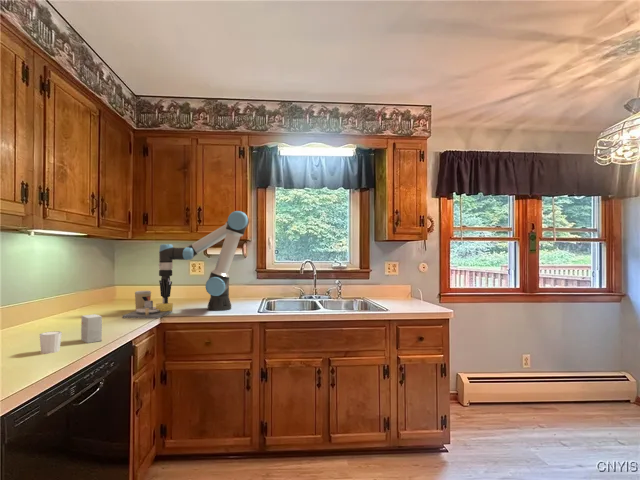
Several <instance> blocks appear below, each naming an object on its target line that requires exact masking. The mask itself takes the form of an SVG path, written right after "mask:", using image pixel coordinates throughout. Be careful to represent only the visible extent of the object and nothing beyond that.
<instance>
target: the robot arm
mask: <svg viewBox="0 0 640 480" xmlns="http://www.w3.org/2000/svg"><path fill="white" fill-rule="evenodd" d="M249 223H250V219H249V217H248V215H247V214H246V212H244V211H241V210H235V211H232V212H231V213H230V214H229V215H228V217H227V221H226V222H225V224H224V225H221V226H219V227H218V228H216V229H215V230H213V231H212V232H210V233H209V234H207V235H205V236H203V237H201V238H200V239H198V240H197V241H195V242H192V244H190V245H188V246H186V247H174V245H173V244H171V243H168V244H167V243H166V244H165V243H161V244H159V251H158V255H159V257H158V259H159V260H158V268H159V270H158V276H159V277H161V278H160V279H161V280H158V281H159V282H158V283H159V289H160V290H159V292H160V297H162V303H169V298H170V297H171V290H172V285H173V280H172V281H171V278H170V277H172V276H173V268H174V267H173V263H174V262H173V260H174V261H177V260H179V261H190V260H193V258H195V257H196V256H197V255H199V254H200V253H202V252H204V251H206V250H207V249H209V248H211V247H213V246H214V245H215V244H218V243H219V242H221V241H223V240H224V241H223V243H222V246H221V249H220V252H219V255H218V257H217V258H218V259H217V261H216V265H215V267H214V269H213V270H211V271H210V274H209V277H208V279H207V281H206V282H205V291H206V292H207V293H208V294H209V295H210V297H209V300H208V304H207V311H229V310H231V309H232V303H231V299H230V278H231V277H230V274H229V272H230V269H231V266H232V263H233V261H234V257H235V254H236V251H237V248H238V245H239V242H240V239H241V238H242V237H243V236H244V235H245V232H246V230H247V228H248V226H249Z"/></svg>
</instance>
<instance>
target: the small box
mask: <svg viewBox="0 0 640 480" xmlns="http://www.w3.org/2000/svg"><path fill="white" fill-rule="evenodd" d="M80 323H81V324H80V326H81V328H80V330H81V331H80V334H81V335H80V338H81V341H82V342H84V343H86V344H91V343H96V342H101V341H102V340H103V316H102V315H99V314H97V313H96V314H95V313H94V314H85V315H81V322H80Z"/></svg>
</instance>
